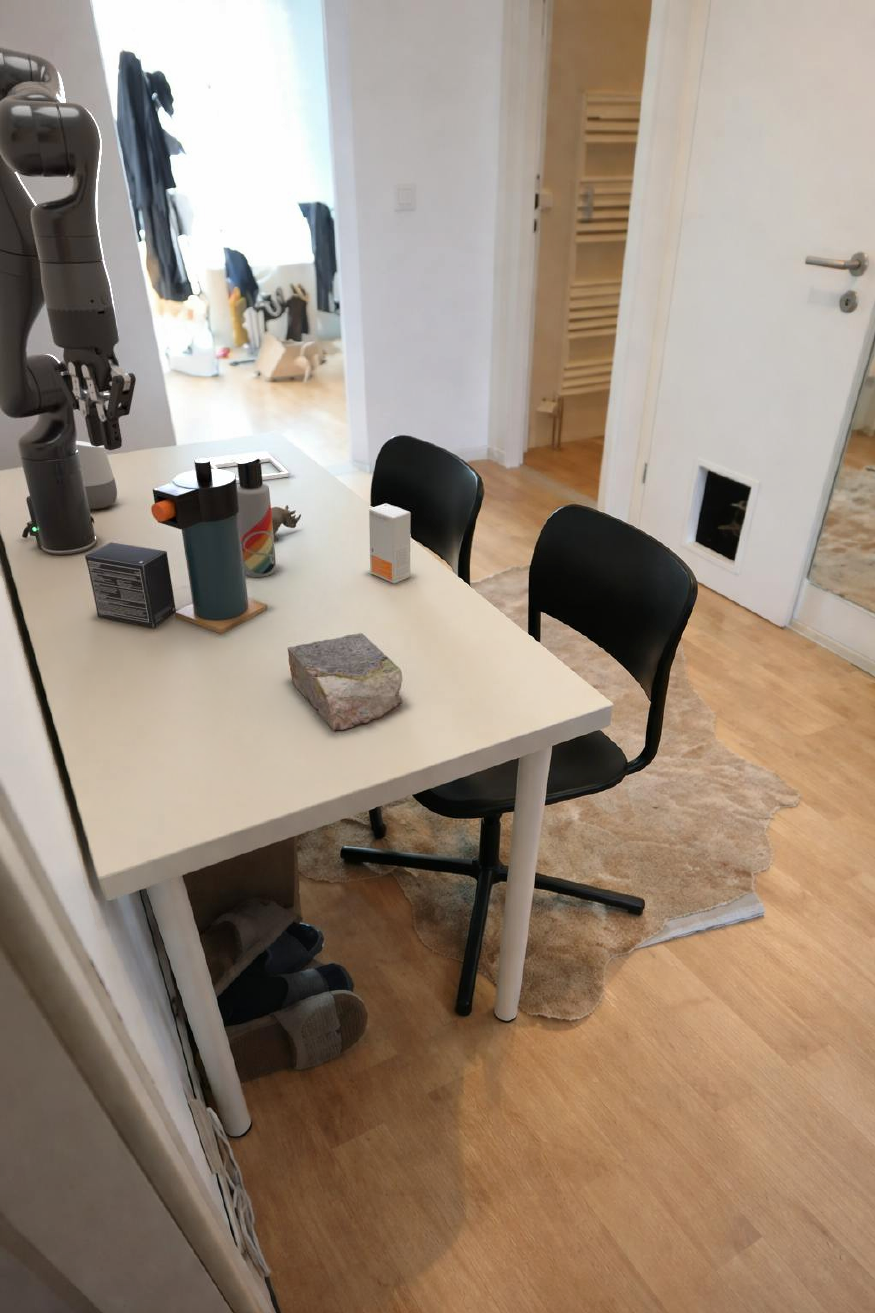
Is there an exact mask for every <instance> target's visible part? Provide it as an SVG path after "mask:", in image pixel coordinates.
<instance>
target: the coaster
mask: <svg viewBox="0 0 875 1313" xmlns="http://www.w3.org/2000/svg"><path fill="white" fill-rule="evenodd" d="M248 604H249V606H248V609H247V611H246V612H245V613H243V614H242V615H240V616H238V617H235V618H232V619H227V620H206V619H202V618H200V617H198V616H197V615H196V614H195V613H194V610H193V603H190V604H188V605H186V606H184V607H182V608H180V609H178V610H176V612H175V613H174V615H175V617H177V618H179V619H181V620H184V621H186V622H190V623H191V624H195V625H197V626H200V627H203V628H205V629H208V630H210V631H212V632H215V633H218V634H221V635H222V634H224V633H226V632H228V631H230V630H232V629H233V628H235V627H237V626H239V625H241V624H242V623H244V622H246V621H248V620H250V619H252V618H253V617H256V616H257V615H259V614H261V613H263V612H265V611H266V610H268V604H266V603H263V602H260V601H259V600H255V599H251V598H249V597H248Z"/></svg>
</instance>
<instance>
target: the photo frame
mask: <svg viewBox="0 0 875 1313" xmlns="http://www.w3.org/2000/svg"><path fill="white" fill-rule="evenodd" d="M246 457H258V458H259V459H260V461H261V464H262V463H269V462H270V463H271V464H272V465H273V466H274V467H275V468H276V469H277V470H278V471H279V472H275V473H267V474H262V480H263V481H266V480H274V479H281V478H288V477H290V472H289V471H288V470H287V469H286V468H285V467H283V465H281V463H280V462H278V460H276V459H275V458H274V457H273V456H272V455H271V454H269V452H268V451H257V452H247V453H241V454H232V455H223V456H215V457H207V458H206V459H210V463H211V469H220V468H229V467H236V466H237V462H238V461H239V460H241V459H243V458H246ZM236 483H237V484H239V477H236Z"/></svg>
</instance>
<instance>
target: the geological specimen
mask: <svg viewBox="0 0 875 1313" xmlns="http://www.w3.org/2000/svg"><path fill="white" fill-rule="evenodd" d="M287 654H288V665H289V671H290V678H291V682H292V684H293V686H294V687H295V688H297V690H298V691H299V692H300V694H301V695H302V696H303V697H304V698H305V699H306V700H307V701H309V702H310V704H311V706H313V708H314V709H315V710H317V711H318V714H319V715H320V716H321V717H322V718H323V720H324V721H325V722H326V724H327V725H329V727H330V729H332V731H337V730H339V731H343V730H348V729H350V728H351V729H352V728H353V727H355V726H357V725H359V724H368V723H369V722H370V721H371V720H375V719H378V718H381V717H382V716H383V715H384V714H386V713H388V712H389V711H391V710H393V708H394V709H395V708H396V707H398V705H402V704H403V699H402V696H401V695H400V690H402V684H403V674H402V670H401V668H400V667H399V666H398V665H396V663H395V662H393V660H391V659H390V657H388V656H387V655H386V654H384V652H383V651H382V650H381V649H380V648H379V647H378V646H376V645H375V643H374V642H373V641H371V640H370V639H369V638H368V637H367V636H366V635H365V634H363V633H362V632H361V633H354V634H347V635H344V636H341V637H335V638H330V639H325V640H317V641H313V642H309V643H304V644H299V645H294V646H288V647H287Z"/></svg>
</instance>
